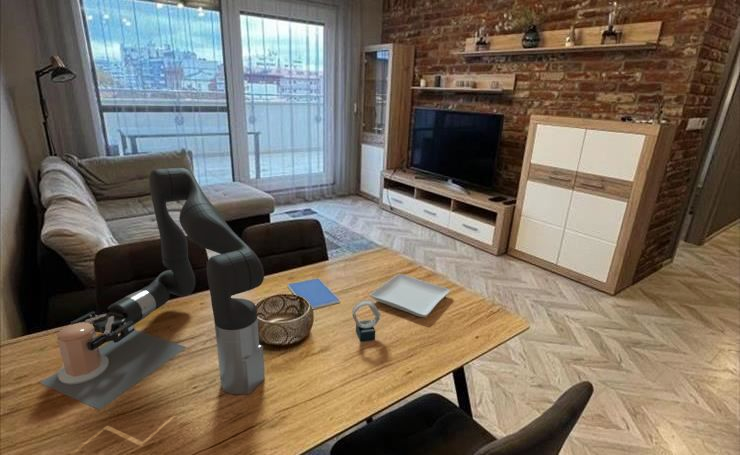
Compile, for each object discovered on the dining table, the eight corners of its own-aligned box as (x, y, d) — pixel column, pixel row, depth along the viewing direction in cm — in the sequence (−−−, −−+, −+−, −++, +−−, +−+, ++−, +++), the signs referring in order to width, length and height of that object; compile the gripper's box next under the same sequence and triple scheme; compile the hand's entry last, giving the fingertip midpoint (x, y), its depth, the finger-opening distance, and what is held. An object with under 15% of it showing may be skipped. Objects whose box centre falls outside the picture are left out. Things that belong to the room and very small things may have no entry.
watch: (381, 339, 113) (383, 305, 110) (354, 342, 111) (355, 308, 108) (376, 328, 118) (377, 295, 115) (349, 331, 116) (350, 298, 113)
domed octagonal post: (106, 362, 97) (99, 326, 94) (79, 379, 91) (70, 341, 88) (88, 355, 99) (80, 320, 96) (60, 371, 94) (50, 334, 90)
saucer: (118, 363, 98) (117, 360, 98) (77, 389, 90) (76, 386, 89) (90, 353, 102) (90, 349, 101) (48, 377, 93) (47, 373, 93)
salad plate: (450, 297, 139) (451, 288, 138) (425, 324, 122) (426, 314, 121) (398, 280, 150) (398, 272, 148) (367, 303, 132) (368, 294, 131)
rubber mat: (187, 348, 106) (186, 347, 106) (99, 412, 85) (99, 409, 84) (133, 330, 112) (132, 328, 112) (39, 384, 91) (39, 382, 91)
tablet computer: (286, 286, 142) (286, 283, 141) (318, 280, 148) (318, 276, 147) (305, 312, 126) (305, 309, 126) (341, 303, 132) (341, 300, 132)
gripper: (109, 292, 108) (48, 323, 93) (151, 301, 104) (95, 335, 89) (114, 316, 110) (55, 350, 95) (155, 326, 106) (101, 363, 92)
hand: (74, 343), depth 92 cm, fingers open, 8 cm apart
